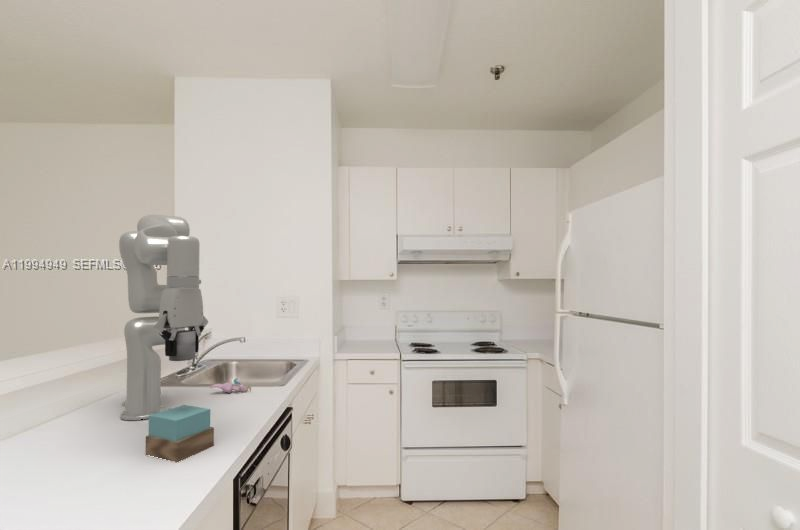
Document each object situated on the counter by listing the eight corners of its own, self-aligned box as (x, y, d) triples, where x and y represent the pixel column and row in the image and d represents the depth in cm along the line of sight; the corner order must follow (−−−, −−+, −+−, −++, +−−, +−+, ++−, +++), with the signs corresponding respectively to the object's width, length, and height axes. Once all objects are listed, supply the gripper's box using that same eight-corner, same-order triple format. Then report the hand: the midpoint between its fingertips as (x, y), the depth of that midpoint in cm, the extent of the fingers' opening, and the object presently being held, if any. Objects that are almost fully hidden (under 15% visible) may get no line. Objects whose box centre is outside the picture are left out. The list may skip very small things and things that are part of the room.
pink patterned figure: (250, 392, 170) (210, 389, 165) (253, 377, 170) (213, 374, 166) (249, 396, 164) (208, 393, 159) (252, 381, 164) (211, 377, 160)
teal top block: (148, 435, 106) (148, 415, 106) (183, 423, 115) (183, 404, 115) (176, 441, 102) (176, 420, 102) (210, 428, 111) (210, 409, 111)
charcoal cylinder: (163, 360, 107) (164, 332, 107) (183, 356, 113) (184, 329, 113) (180, 361, 105) (181, 333, 105) (200, 357, 110) (200, 330, 111)
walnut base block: (145, 456, 105) (145, 436, 105) (183, 441, 115) (183, 422, 116) (177, 463, 101) (178, 442, 101) (213, 446, 111) (213, 427, 112)
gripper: (199, 283, 119) (199, 348, 118) (141, 284, 103) (140, 358, 102) (219, 283, 116) (219, 349, 115) (163, 284, 100) (162, 360, 99)
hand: (182, 353), depth 109 cm, fingers closed on charcoal cylinder, 6 cm apart
